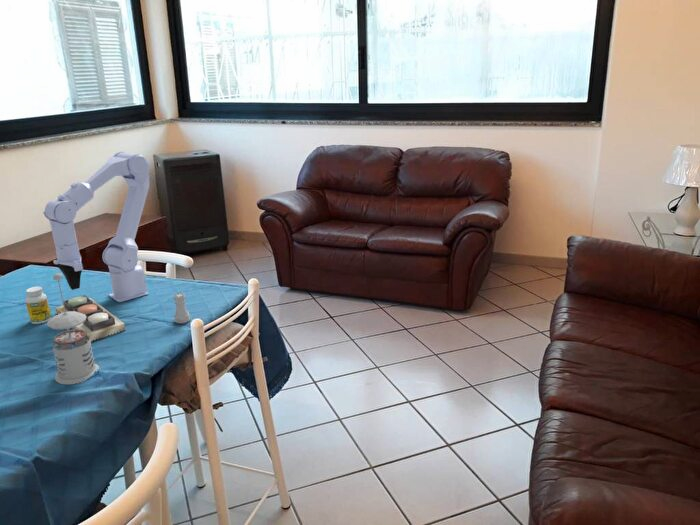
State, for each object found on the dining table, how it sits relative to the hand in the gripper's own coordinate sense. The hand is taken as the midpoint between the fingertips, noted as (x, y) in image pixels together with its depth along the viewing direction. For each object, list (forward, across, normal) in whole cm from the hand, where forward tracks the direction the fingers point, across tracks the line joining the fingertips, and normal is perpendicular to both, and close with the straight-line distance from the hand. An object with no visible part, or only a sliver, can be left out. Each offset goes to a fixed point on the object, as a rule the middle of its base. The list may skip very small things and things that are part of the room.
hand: (75, 288), depth 164 cm
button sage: (+6, 0, 0) cm, 6 cm away
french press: (+8, +34, -12) cm, 37 cm away
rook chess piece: (+8, +26, +19) cm, 33 cm away
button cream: (+6, +16, 0) cm, 17 cm away
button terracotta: (+6, +8, 0) cm, 10 cm away
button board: (+8, +8, 0) cm, 11 cm away
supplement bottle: (+8, -3, -10) cm, 13 cm away
